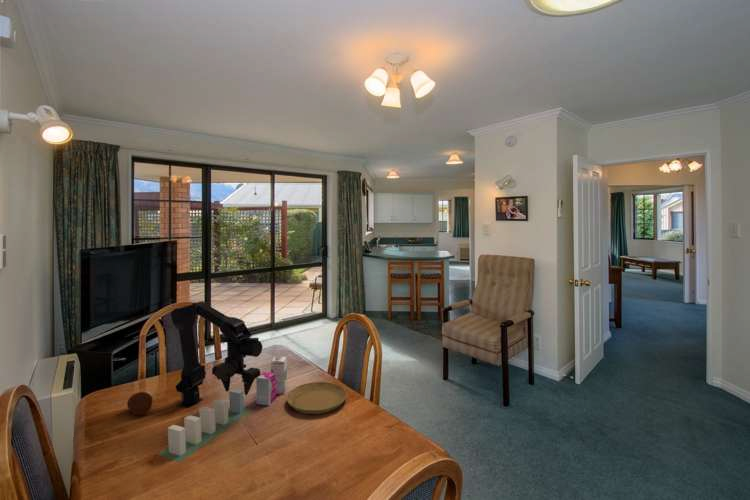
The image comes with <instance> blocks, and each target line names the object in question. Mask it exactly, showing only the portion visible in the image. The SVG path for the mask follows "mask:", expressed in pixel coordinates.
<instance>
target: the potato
mask: <svg viewBox="0 0 750 500" xmlns="http://www.w3.org/2000/svg"><path fill="white" fill-rule="evenodd" d="M153 401H154V399H153V396H152V395H151V394H150V393H148V392H146V391H140V392H136V393H134V394H132V395H131V396H130V397H129V398H128V400H127V402H126V403H127V404H126V406H127V409H128V410H129V411H130V412H132V413H133V414H134V415H136V416H144V415H146V414H147V413H148V412H149V411H150V410H151V409H152V405H153Z"/></svg>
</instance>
